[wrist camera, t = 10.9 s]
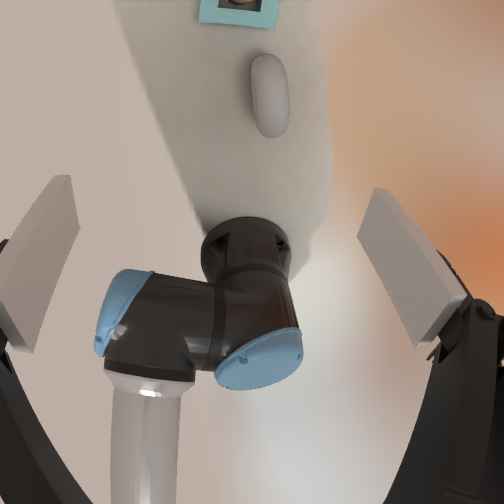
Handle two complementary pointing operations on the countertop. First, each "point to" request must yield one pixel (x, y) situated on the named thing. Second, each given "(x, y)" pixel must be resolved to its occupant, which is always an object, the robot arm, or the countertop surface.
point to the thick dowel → (239, 2)
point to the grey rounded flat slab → (270, 95)
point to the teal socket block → (240, 14)
